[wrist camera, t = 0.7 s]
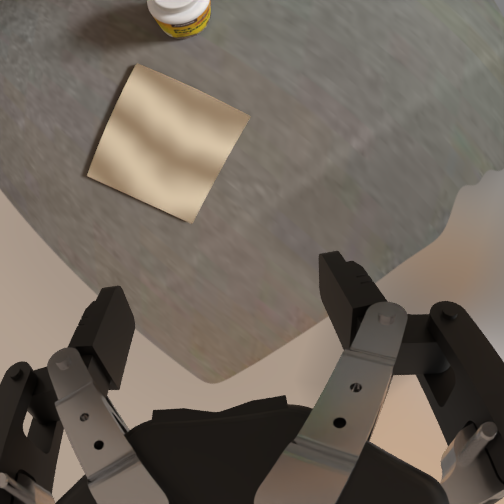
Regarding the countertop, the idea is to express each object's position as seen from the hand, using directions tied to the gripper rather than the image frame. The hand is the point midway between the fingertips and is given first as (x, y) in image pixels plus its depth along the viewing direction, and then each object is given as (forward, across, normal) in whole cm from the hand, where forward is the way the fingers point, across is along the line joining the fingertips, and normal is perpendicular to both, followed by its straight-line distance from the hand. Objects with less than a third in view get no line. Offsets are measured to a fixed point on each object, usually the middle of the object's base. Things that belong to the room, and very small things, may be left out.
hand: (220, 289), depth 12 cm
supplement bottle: (+26, +1, -17) cm, 31 cm away
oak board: (+26, +6, -3) cm, 26 cm away
